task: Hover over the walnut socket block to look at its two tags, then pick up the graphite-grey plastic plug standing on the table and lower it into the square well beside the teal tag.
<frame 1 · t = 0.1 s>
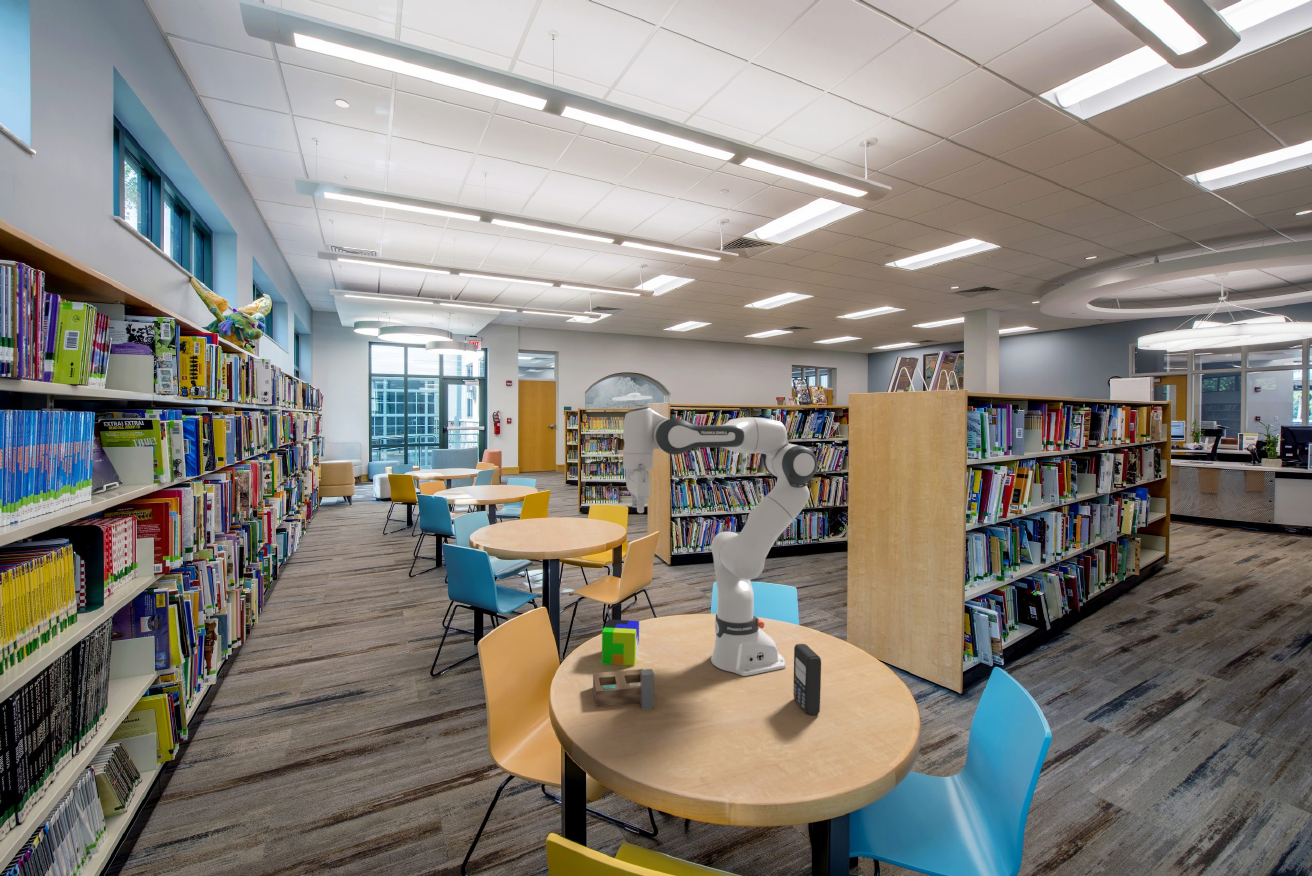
hand: (637, 509, 156), 48 cm above the table, fingers open, 8 cm apart
card reader: (805, 707, 139), on the table
socket block: (620, 694, 144), on the table
puzzle toy: (620, 658, 166), on the table
plug: (646, 706, 138), on the table
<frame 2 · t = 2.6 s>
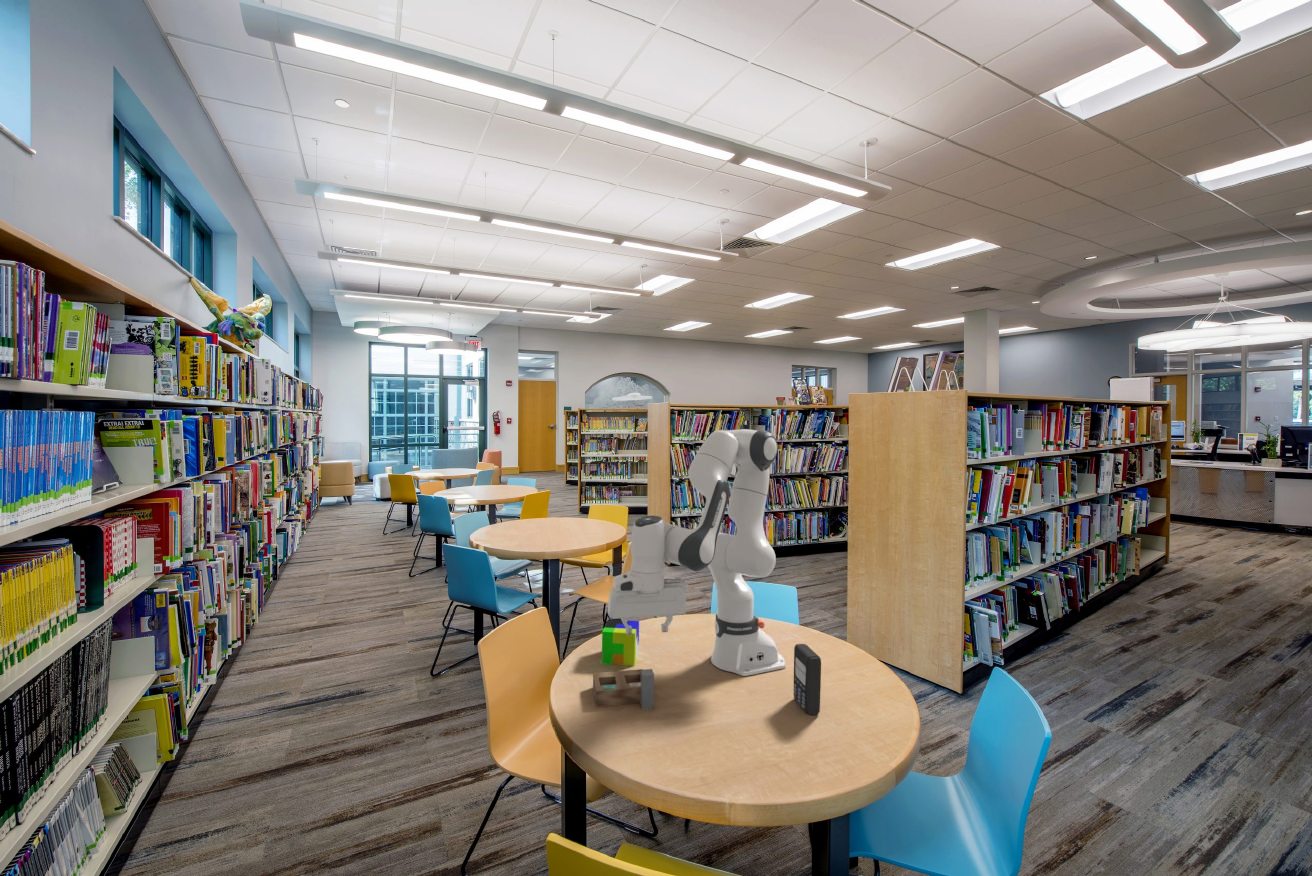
hand: (646, 632, 137), 19 cm above the table, fingers open, 8 cm apart
nothing on the table moved.
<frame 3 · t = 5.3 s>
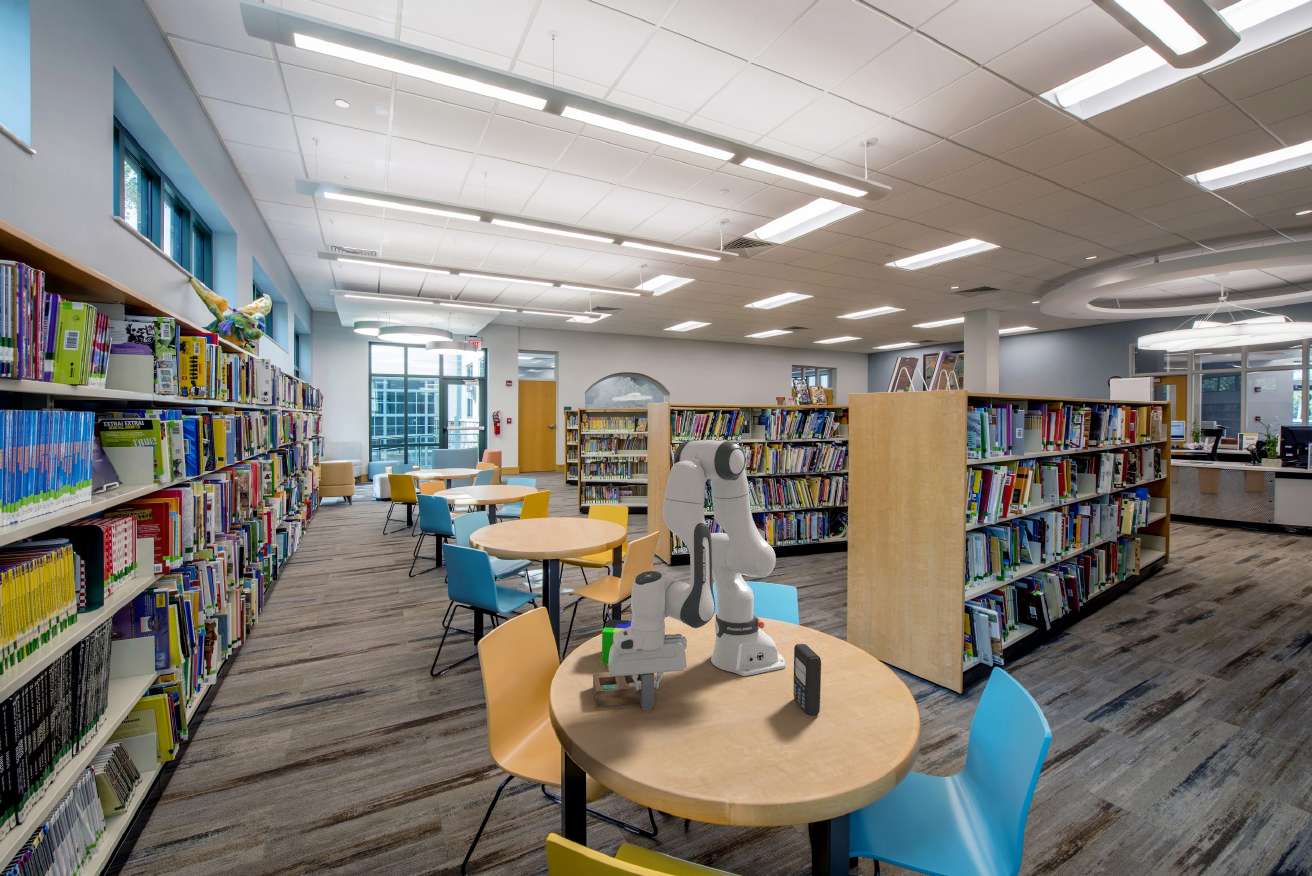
hand: (647, 688, 138), 5 cm above the table, fingers closed on plug, 3 cm apart
plug: (646, 706, 138), on the table, touching gripper
everything else where it was.
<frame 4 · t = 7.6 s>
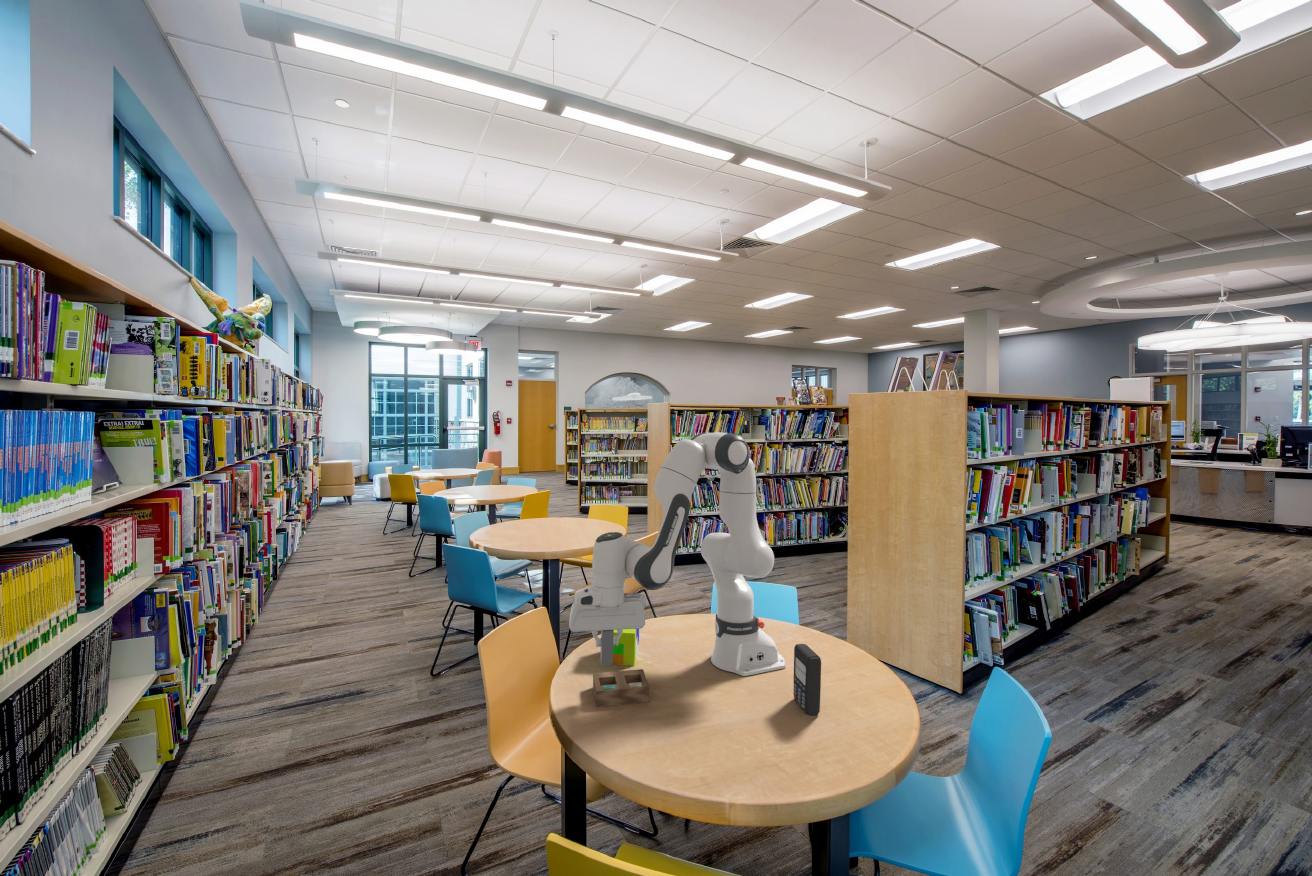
hand: (606, 645, 142), 14 cm above the table, fingers closed on plug, 3 cm apart
plug: (606, 662, 142), point 9 cm above the table, touching gripper
everything else where it was.
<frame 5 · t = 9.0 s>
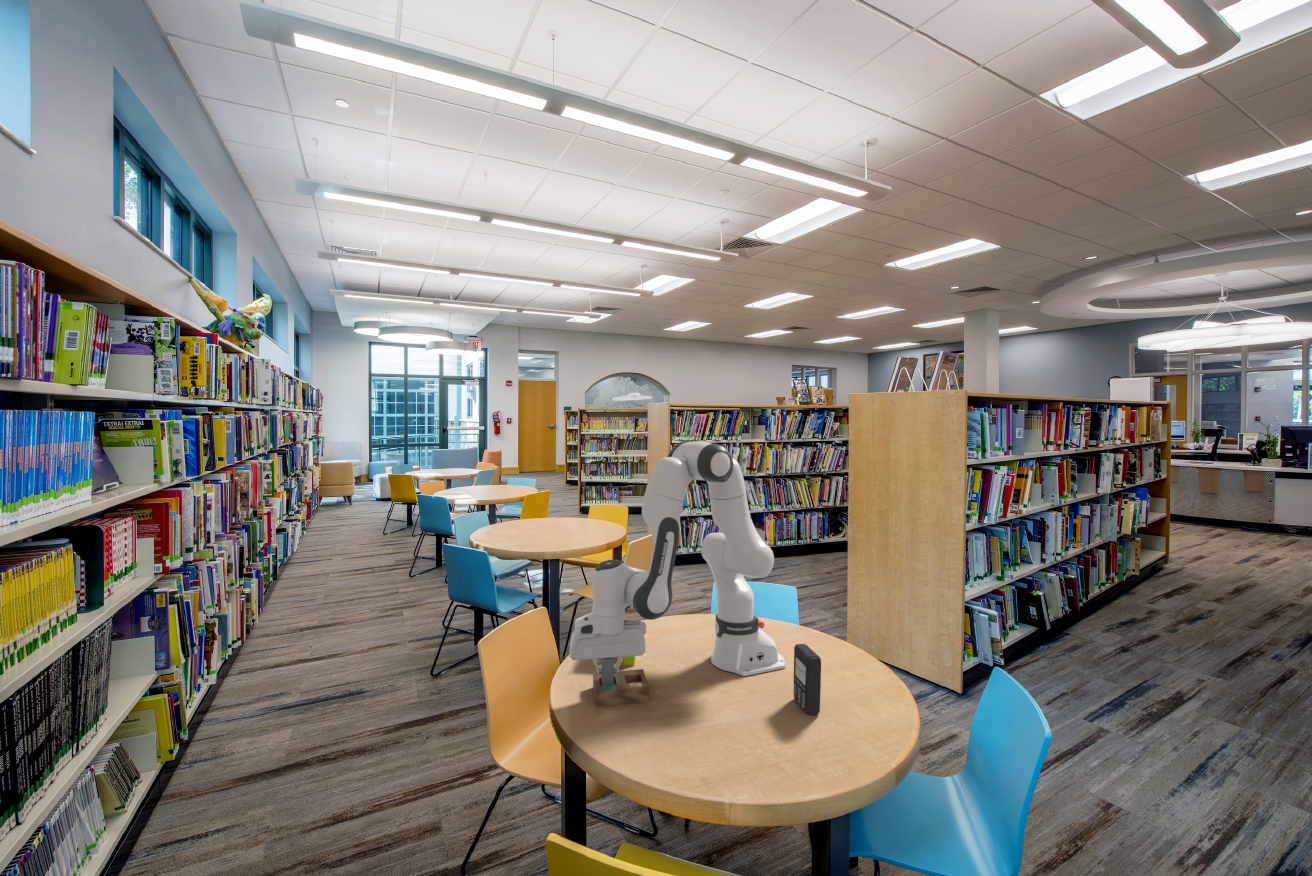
hand: (607, 672, 143), 6 cm above the table, fingers closed on plug, 3 cm apart
plug: (607, 690, 143), point 2 cm above the table, touching gripper
everything else where it was.
when the fingers open (6 cm above the table, at t = 10.1 s): plug stays where it is, resting in socket block.
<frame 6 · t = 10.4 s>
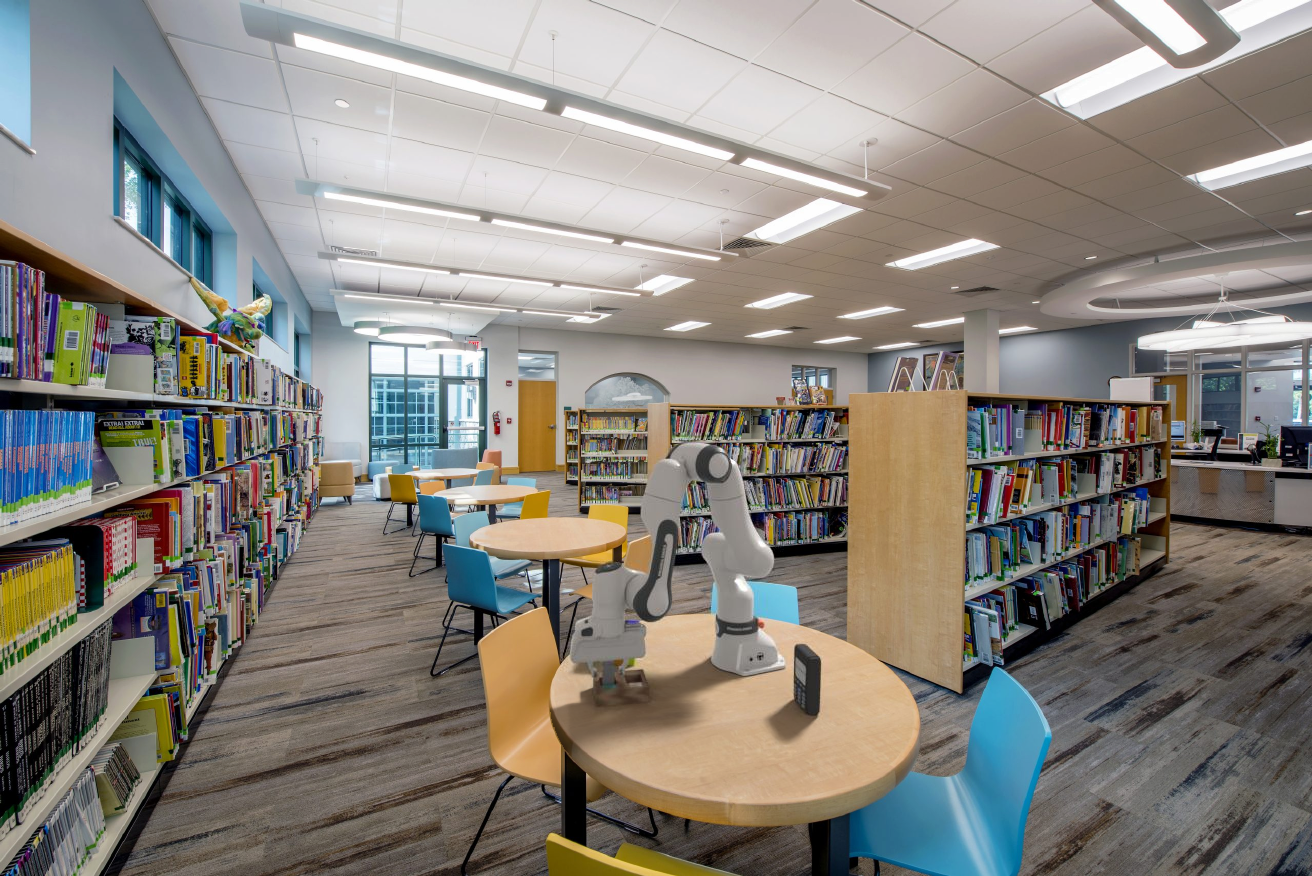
hand: (607, 675, 143), 6 cm above the table, fingers open, 6 cm apart
plug: (608, 695, 143), resting in socket block
everything else where it was.
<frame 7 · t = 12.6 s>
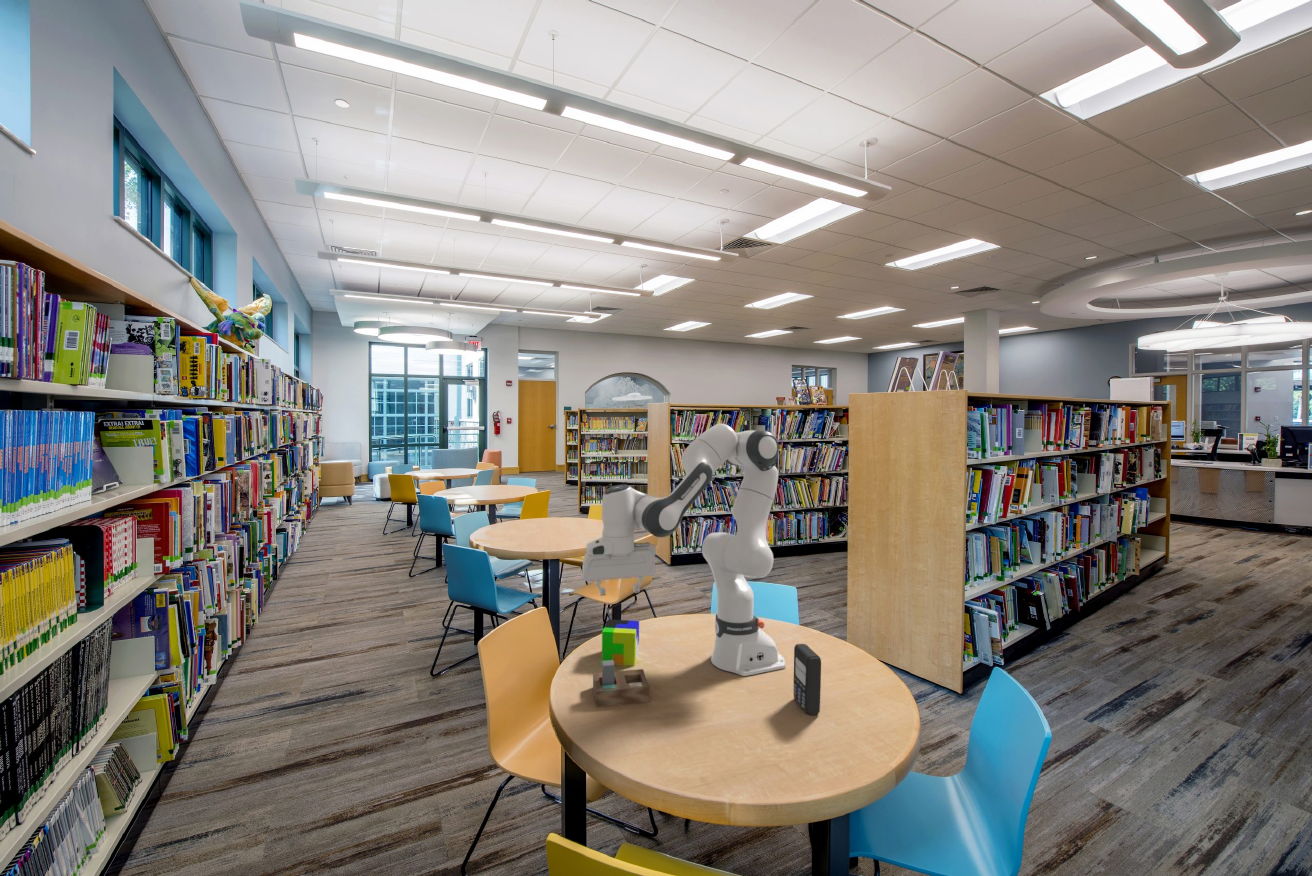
hand: (619, 593, 147), 26 cm above the table, fingers open, 8 cm apart
nothing on the table moved.
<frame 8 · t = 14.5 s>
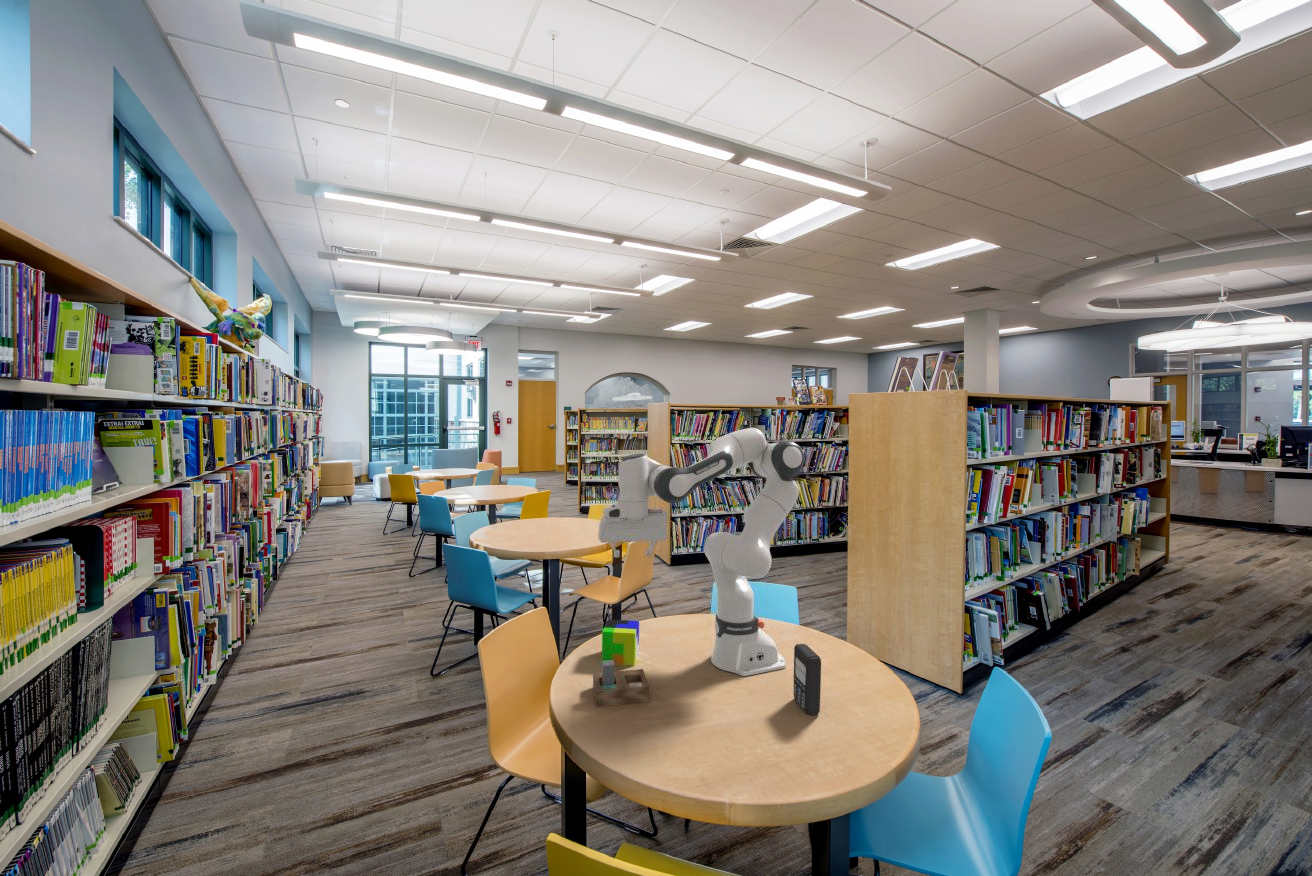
hand: (632, 556, 156), 34 cm above the table, fingers open, 8 cm apart
nothing on the table moved.
at the end: plug 0.1 cm from the target spot on the socket block, point 0.0 cm above the socket block's base; plug tilted 0°; the gripper is holding nothing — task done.
